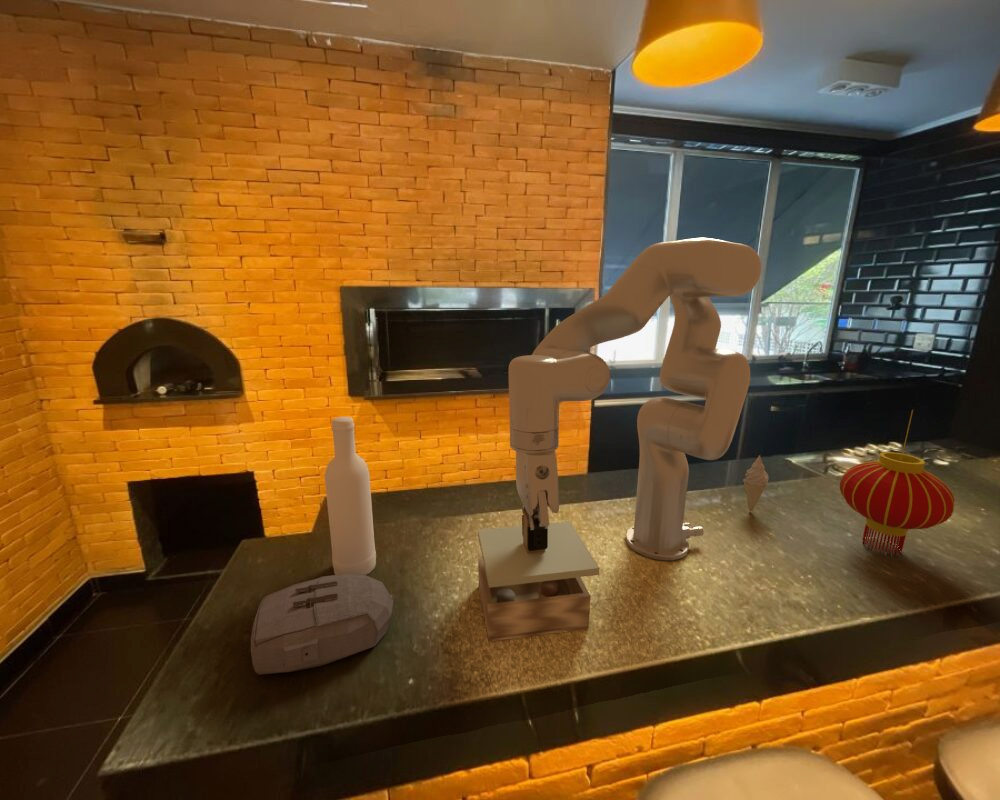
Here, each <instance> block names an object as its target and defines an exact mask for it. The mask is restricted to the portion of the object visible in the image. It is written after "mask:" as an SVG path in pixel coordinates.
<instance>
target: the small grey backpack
mask: <svg viewBox="0 0 1000 800" xmlns="http://www.w3.org/2000/svg"><path fill="white" fill-rule="evenodd" d="M394 602H395V601H394V599H393V598H392V596H391V595H390V593H389V591H388V589H387V588H386V586H385V585H384V583H383V582H382V581H380V580H378V579H375V578H374V577H371V576H368V575H364V574H338V575H335V574H332V575H326V576H325V575H324V576H320V577H317V578H314V579H309V580H305V581H301V582H297V583H295V584H291V585H290V586H288V587H284V588H282V589H279V590H277V591H275V592H272V593H269V594H267V595H265V596H263V598H262V600H261V601H260V603H259V606H258V608H257V611H256V615H255V617H254V619H253V623H252V628H251V634H250V635H251V636H250V654H251V655H250V656H251V662H252V666H253V669H254V672H255V673H256V674H258V675H259V676H261V675H270V674H279V673H280V674H283V673H292V672H298V671H302V670H303V671H304V670H307V669H312V668H316V667H321V666H325V665H328V664H330V663H333V662H336V661H339V660H342V659H344V658H348V657H351V656H352V655H355V654H358V653H361V652H363V651H366V650H369V649H370V648H374V647H376V645H377V644H378V643H379V642H380V641H381V640H382V638H383V637H384V636H385V634H387V632H388V628H389V627H388V626H389V622H390V620H391V617H392V613H393V608H394V607H393V606H394Z"/></svg>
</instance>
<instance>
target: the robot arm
mask: <svg viewBox="0 0 1000 800" xmlns="http://www.w3.org/2000/svg"><path fill="white" fill-rule="evenodd" d="M761 272H762V264H761V258H760V255H759V254H758V252H757V251H756V250H755V249H754V248H753V247H751V246H749V245H747V244H743V243H737V242H731V241H727V240H723V239H716V238H711V237H710V238H709V237H695V238H687V239H678V240H671V241H670V240H669V241H663V242H662V241H661V242H656V243H655V244H652V245H648V247H646V248H645V249H643V250H642V251H641V252H640V253H639V255H637V257H636V258H635V259H634V260H633V261H632V263H630V265H629V266H628V267H627V268H626V269H625V270H624V271H623V273H622V274H621V275H620V276H619V278H618V279H617V280H616V281H615V282H614V283H613V284H612V285H611V287H610V288H609V289H608V291H606V293H604V295H602V296H601V297H600V298H597V300H594V301H593V302H591V303H589V304H587V305H586V306H584V307H583V308H581V309H579V310H578V311H576V312H574V313H573V314H571V315H570V316H568V317H566V318H564V319H563V320H562V321H560V322H559V323H558V324H557V325H555V326H554V327H553V329H551V330H550V331H549V332H548V333H547V335H546V336H545V337H544V338H543V339H542V341H540V343H539V344H538V345H537V346H536V347H535V349H534V350H533V352H532V354H530V355H528V354H527V355H521V356H516V357H515V358H513V359H511V361H510V362H509V365H508V398H509V399H508V405H509V411H508V412H509V447H510V449H512V450H513V451H515V484H516V485H515V486H516V490H517V494H518V496H519V498H520V500H521V502H522V504H521V505H522V506H521V510H522V512H521V513H523V511H527V513H528V514H529V527H527V548H528V550H529V551H535V550H543V549H547V547H548V526H549V523H550V517H549V511H548V507H549V510H550V511H551V512H552V514H558V512H559V510H560V493H559V490H560V489H559V473H558V462H557V456H556V450H557V449H558V448H559V445H560V441H559V439H560V431H559V429H560V425H559V424H560V403H563V402H565V403H566V402H585V401H591V400H594V399H596V398H598V397H600V396H601V395H602V394H603V393H604V392H605V391H606V390H607V388H608V386H609V383H610V380H611V372H610V371H611V369H610V368H609V366H608V363H607V362H606V361H605V360H604V359H603V358H602V357H600V356H599V355H597V354H595V353H591V352H587V350H588V349H590V348H593V347H595V346H597V345H600V344H603V343H607V342H611V341H614V340H618V339H622V338H624V337H629V336H631V335H633V334H636V333H638V332H640V331H641V330H643V328H644V327H646V325H647V324H648V322H649V321H650V320H651V318H652V317H653V316H654V315H655V314H656V312H657V311H658V310H659V308H661V306H662V305H663V304H664V303H665V301H666V300H667V299H668V298H670V302H671V304H672V308H673V313H674V322H673V328H672V330H671V331H672V332H671V335H670V338H669V341H668V345H667V348H666V350H665V355H664V356H663V357H664V358H663V360H662V364H661V367H660V373H659V382H660V383H661V386H662V387H663V388H664V389H666V390H668V391H669V392H672V393H675V394H680V395H685V396H690V397H695V398H698V399H699V398H700V399H705V403H704V405H701V404H695V403H691V402H689V401H683V400H678V399H674V398H668V397H655V398H650V399H649V400H647V401H646V402H645V403H643V405H642V406H641V407H640V408H639V410H638V414H637V418H636V423H637V424H636V427H637V428H636V429H637V434H638V435H637V436H638V443H639V444H638V445H639V459H638V460H639V461H638V462H639V463H638V474H637V476H638V477H637V488H636V498H635V499H636V500H635V509H634V510H635V511H634V523H633V524H634V525H633V526H631V527H629V528H628V529H627V530H626V534H625V541H626V544H627V546H629V548H631V550H633V551H634V552H635V553H638V554H640V555H642V556H644V557H646V558H650V559H653V560H659V561H676V560H680V559H683V558H684V557H686V556H687V555H688V553H689V549H690V544H689V541H688V539H690V538H691V537H701V536H704V533H705V532H704V528H703V527H702V526H700V525H699V526H691V523H690V522H689V521H688V522H687V521H686V522H685V521H684V519H685V510H686V509H685V508H686V503H687V502H686V501H687V500H686V499H687V491H688V483H689V473H690V470H689V469H690V468H689V463H688V460H687V457H686V456H687V455H689V456H692V457H695V458H699V459H702V460H706V461H716V460H718V459H721V457H723V456H724V455H726V453H727V451H728V450H729V447H730V446H731V443H732V441H733V438H734V436H735V432H736V428H737V426H738V423H739V419H740V415H741V413H742V410H743V407H744V404H745V400H746V397H747V394H748V390H749V387H750V382H751V366H750V364H749V360H748V359H747V358H746V356H745V355H743V354H742V353H740V352H738V351H736V350H729V349H721V348H717V344H718V340H719V338H720V337H719V336H720V333H721V329H722V322H721V317H720V314H719V313H718V311H717V309H716V307H715V305H714V304H713V302H712V300H711V299H710V298H712V297H713V298H714V297H720V298H722V297H725V298H726V297H727V298H728V297H729V298H730V297H736V298H737V297H741V296H744V295H747V294H748V293H750V292H751V291H752V290H753V289H754V288H755V286H756V285H757V283H758V282H759V280H760V277H761ZM534 515H539V518H535V520H534ZM521 526H522V535H523V514H522V515H521Z"/></svg>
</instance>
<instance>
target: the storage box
mask: <svg viewBox="0 0 1000 800" xmlns="http://www.w3.org/2000/svg"><path fill="white" fill-rule="evenodd" d="M477 560H478V561H477V566H478V569H477V571H478V576H477V577H478V589H479V597H480V602H481V608H482V612H483V613H482V614H483V618H484V619H483V620H484V624H485V630H486V635H487V640H488V643H489V642H496V641H497V642H499V641H505V640H513V639H521V638H527V637H535V636H543V635H551V634H557V633H558V634H559V633H566V632H573V631H574V632H575V631H580V630H581V631H582V630H589V629H590V627H589V626H590V612H591V611H590V609H591V594H590V592H589V591H588V588H587V587H586V585H585V583H584V581H583V580H582V577H576V578H568V579H559V580H551V581H542V582H533V583H525V584H516V585H508V586H499V587H491V588H489V585H488V580H487V576H486V571H485V566H484V562H483V557H482V556H478V559H477Z"/></svg>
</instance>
